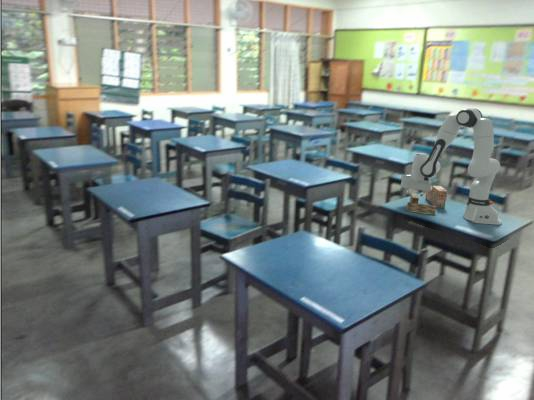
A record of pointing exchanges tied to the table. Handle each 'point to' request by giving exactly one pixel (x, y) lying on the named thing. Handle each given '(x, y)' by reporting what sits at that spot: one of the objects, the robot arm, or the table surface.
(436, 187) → the stack of blocks
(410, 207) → the tan shallow tray
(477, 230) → the table surface
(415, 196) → the walnut block
